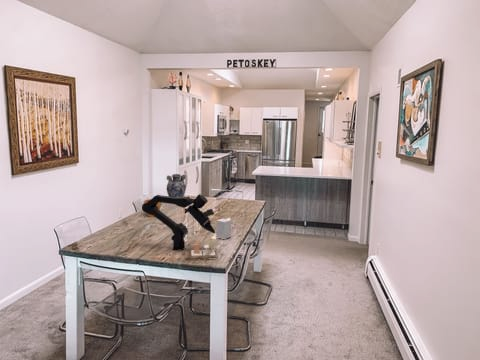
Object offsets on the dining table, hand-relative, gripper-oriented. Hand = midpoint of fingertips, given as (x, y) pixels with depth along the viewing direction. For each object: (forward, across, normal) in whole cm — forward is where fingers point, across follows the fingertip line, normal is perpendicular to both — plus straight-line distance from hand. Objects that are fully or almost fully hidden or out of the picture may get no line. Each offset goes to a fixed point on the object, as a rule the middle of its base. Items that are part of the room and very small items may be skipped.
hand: (214, 232), depth 209 cm
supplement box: (+6, +33, -2) cm, 34 cm away
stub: (+2, -2, +16) cm, 16 cm away
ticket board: (+4, -1, +15) cm, 16 cm away
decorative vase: (-55, +142, +4) cm, 152 cm away
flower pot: (-50, +88, +25) cm, 104 cm away
